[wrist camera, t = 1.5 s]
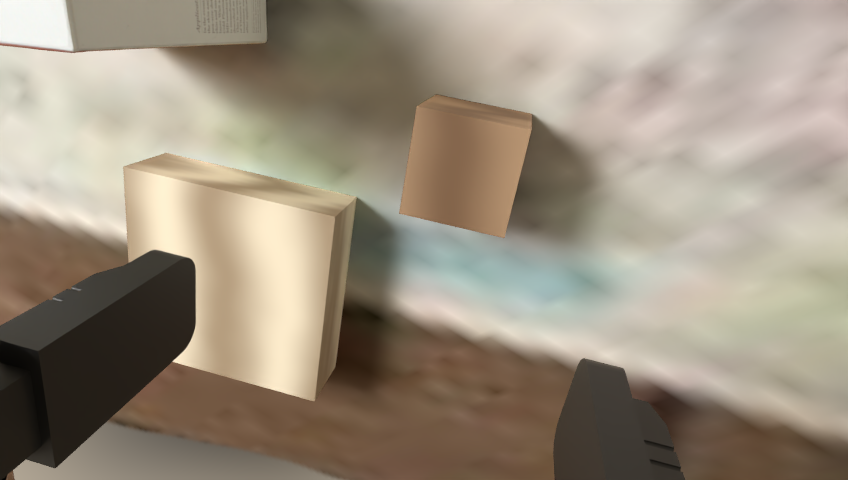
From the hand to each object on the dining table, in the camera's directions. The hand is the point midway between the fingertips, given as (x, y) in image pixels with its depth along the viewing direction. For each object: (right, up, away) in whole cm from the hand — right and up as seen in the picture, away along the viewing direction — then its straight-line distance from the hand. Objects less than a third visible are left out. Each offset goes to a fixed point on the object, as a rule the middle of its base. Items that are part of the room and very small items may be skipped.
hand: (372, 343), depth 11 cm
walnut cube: (+4, +7, +17) cm, 19 cm away
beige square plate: (-10, +1, +23) cm, 25 cm away
